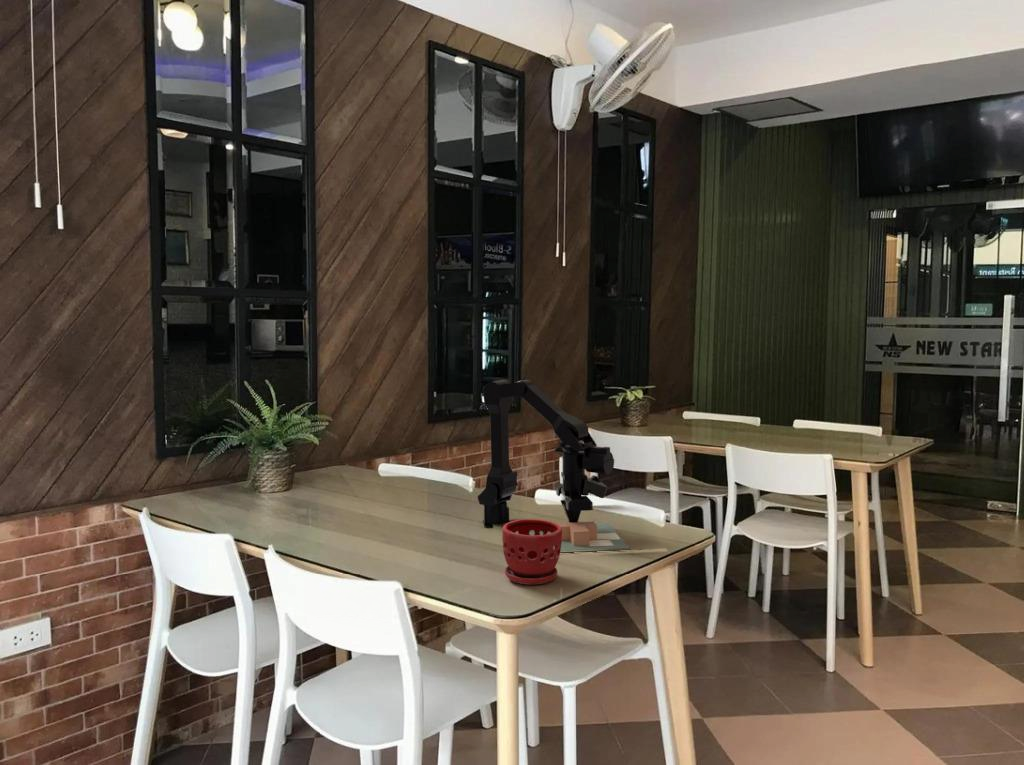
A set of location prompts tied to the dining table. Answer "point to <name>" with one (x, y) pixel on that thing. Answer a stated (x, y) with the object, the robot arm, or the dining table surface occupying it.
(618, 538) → the board
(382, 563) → the dining table surface
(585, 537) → the salmon notched block
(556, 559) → the plant pot
